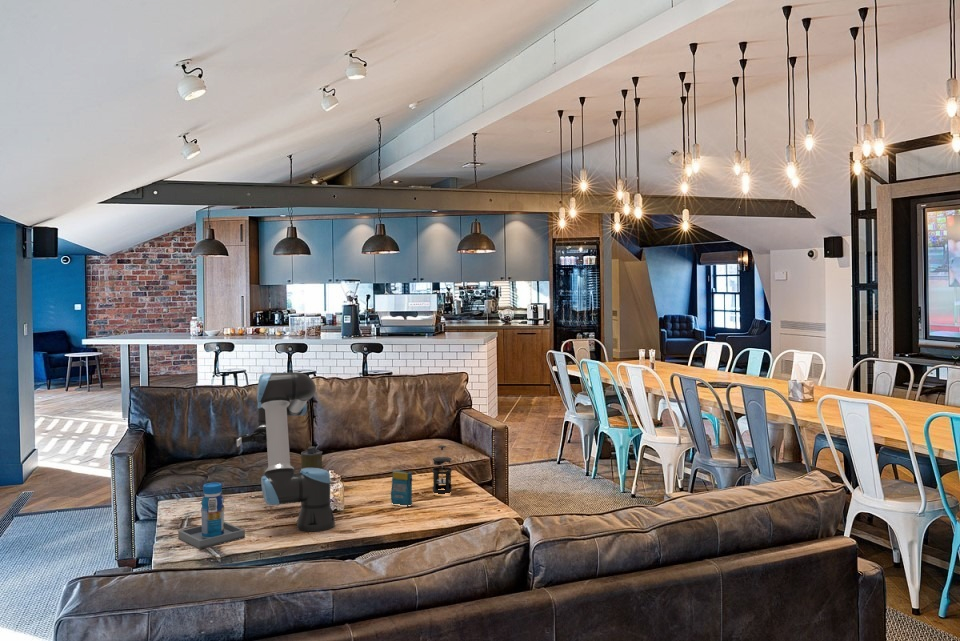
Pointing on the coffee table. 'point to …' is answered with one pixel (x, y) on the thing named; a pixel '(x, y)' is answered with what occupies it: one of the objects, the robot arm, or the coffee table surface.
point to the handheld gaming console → (401, 488)
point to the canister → (311, 458)
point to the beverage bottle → (212, 511)
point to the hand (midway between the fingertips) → (254, 442)
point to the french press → (436, 475)
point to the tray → (196, 539)
